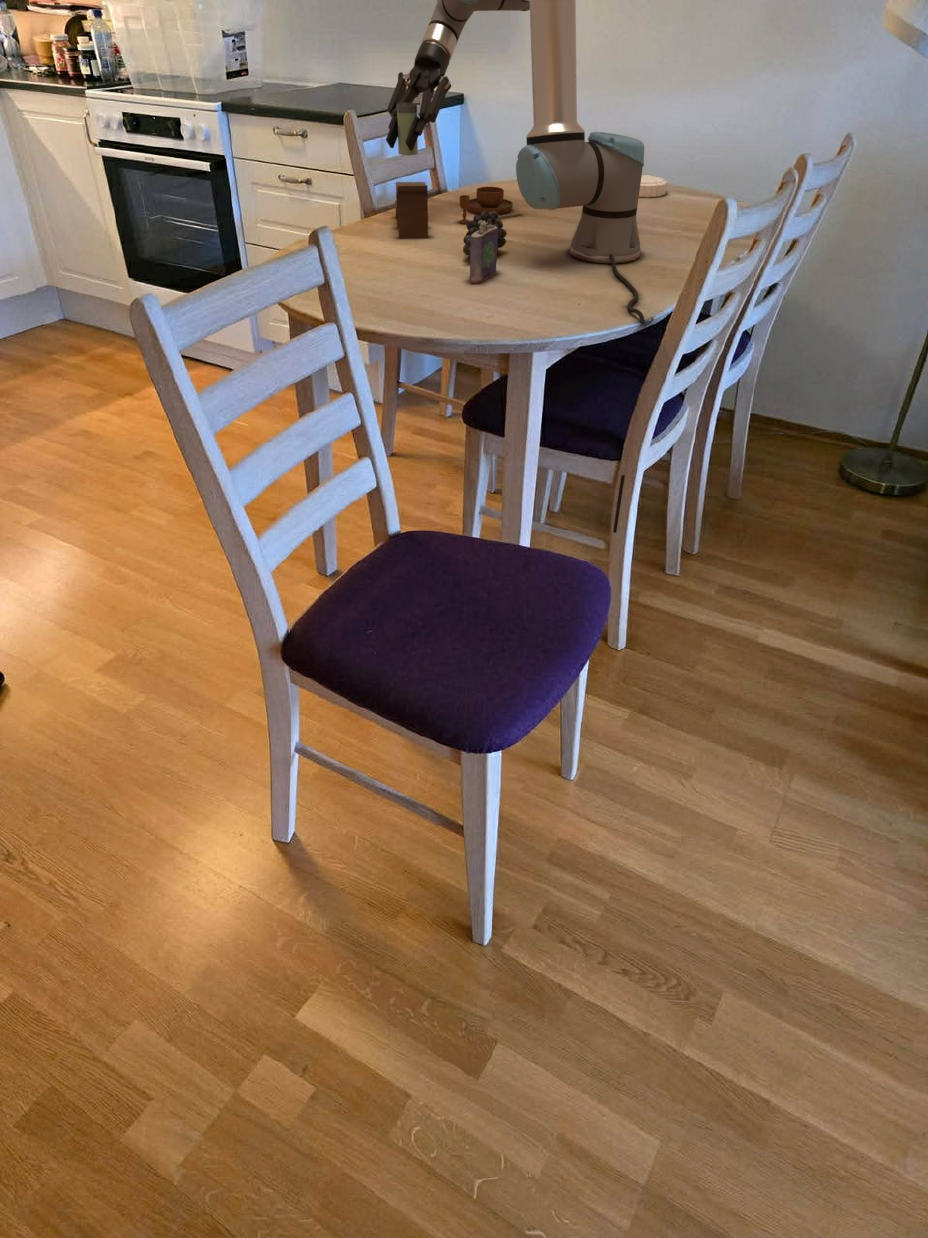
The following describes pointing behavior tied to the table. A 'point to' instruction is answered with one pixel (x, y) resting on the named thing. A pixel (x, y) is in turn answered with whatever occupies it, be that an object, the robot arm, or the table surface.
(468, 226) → the fruit
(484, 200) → the place setting
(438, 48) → the robot arm
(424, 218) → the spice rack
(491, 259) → the flask
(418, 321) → the table surface
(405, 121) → the spice jar
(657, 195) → the mooncake
